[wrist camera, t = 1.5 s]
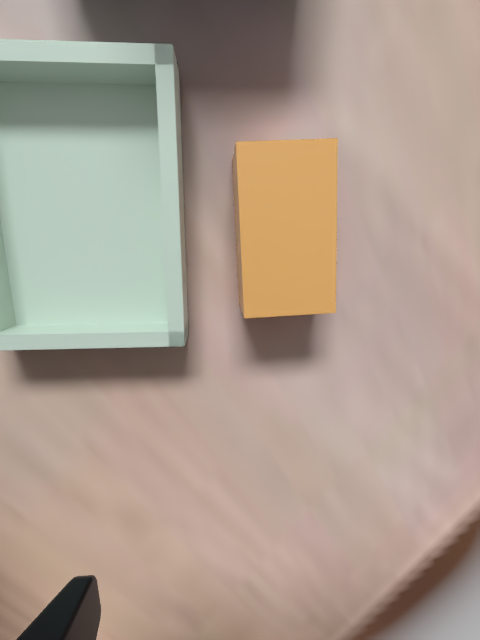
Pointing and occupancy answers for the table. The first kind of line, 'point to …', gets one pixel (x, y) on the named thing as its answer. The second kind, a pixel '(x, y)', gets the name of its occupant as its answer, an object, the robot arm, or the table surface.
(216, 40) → the table surface
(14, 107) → the tray
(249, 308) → the orange rectangular block
